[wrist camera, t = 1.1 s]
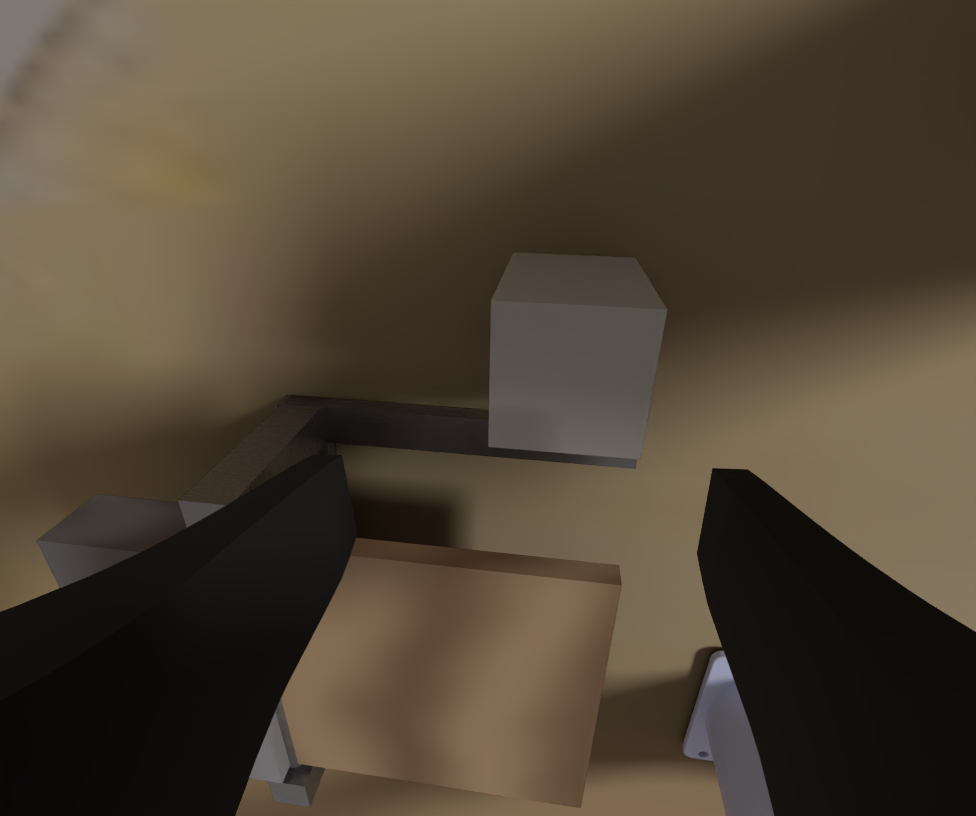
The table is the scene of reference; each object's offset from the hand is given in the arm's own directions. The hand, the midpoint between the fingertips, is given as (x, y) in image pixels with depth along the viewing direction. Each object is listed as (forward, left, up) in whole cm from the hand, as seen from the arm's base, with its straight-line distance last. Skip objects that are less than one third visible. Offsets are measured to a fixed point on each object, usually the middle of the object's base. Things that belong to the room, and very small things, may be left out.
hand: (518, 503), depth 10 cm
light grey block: (-1, -1, -10) cm, 10 cm away
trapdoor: (+6, +11, -5) cm, 13 cm away
